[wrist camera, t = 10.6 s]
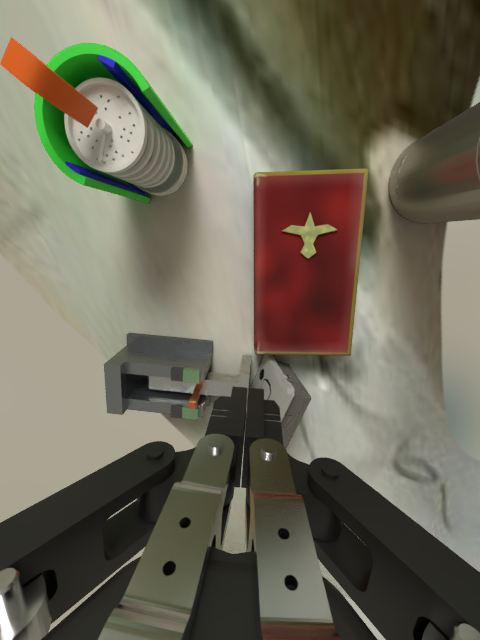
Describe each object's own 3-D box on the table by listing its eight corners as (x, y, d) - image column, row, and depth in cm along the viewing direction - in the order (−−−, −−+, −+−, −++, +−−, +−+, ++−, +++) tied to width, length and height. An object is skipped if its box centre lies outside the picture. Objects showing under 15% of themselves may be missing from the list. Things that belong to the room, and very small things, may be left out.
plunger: (251, 356, 40) (248, 384, 32) (247, 400, 42) (243, 436, 34) (158, 346, 40) (133, 372, 33) (158, 390, 42) (135, 424, 35)
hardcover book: (254, 343, 40) (253, 355, 36) (254, 179, 34) (253, 172, 30) (342, 344, 39) (351, 356, 35) (356, 176, 34) (369, 167, 30)
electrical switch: (265, 349, 40) (274, 385, 31) (299, 360, 41) (317, 398, 32) (242, 403, 43) (244, 450, 34) (274, 413, 43) (285, 461, 35)
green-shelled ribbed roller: (169, 215, 36) (85, 196, 19) (111, 182, 35) (-33, 131, 18) (201, 141, 33) (137, 40, 16) (139, 104, 33) (2, -42, 15)
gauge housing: (212, 340, 40) (203, 361, 33) (209, 403, 43) (200, 434, 36) (129, 332, 41) (103, 352, 34) (131, 394, 44) (107, 423, 37)
